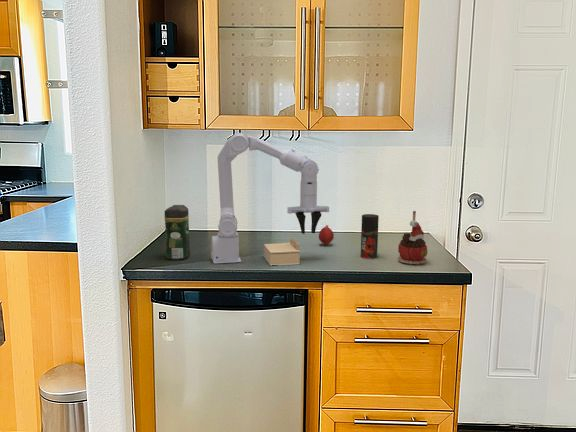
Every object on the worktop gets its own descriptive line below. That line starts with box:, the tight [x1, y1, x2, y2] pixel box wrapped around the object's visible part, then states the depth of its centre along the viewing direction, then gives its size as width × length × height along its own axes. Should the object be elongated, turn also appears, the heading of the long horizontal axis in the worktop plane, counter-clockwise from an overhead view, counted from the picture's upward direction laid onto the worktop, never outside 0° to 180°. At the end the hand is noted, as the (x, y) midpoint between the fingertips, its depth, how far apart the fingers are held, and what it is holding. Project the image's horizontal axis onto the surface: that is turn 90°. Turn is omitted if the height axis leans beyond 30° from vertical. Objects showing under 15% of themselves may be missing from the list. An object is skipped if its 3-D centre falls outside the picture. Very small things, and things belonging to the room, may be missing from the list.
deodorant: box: [360, 213, 380, 260], centre depth 197 cm, size 6×6×15 cm
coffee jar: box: [164, 204, 191, 261], centre depth 195 cm, size 10×8×19 cm
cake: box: [397, 210, 428, 265], centre depth 190 cm, size 11×9×18 cm
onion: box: [318, 224, 335, 246], centre depth 215 cm, size 6×6×8 cm
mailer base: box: [263, 245, 301, 267], centre depth 192 cm, size 10×12×4 cm
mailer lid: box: [263, 237, 301, 254], centre depth 192 cm, size 10×12×2 cm
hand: (308, 233), depth 193 cm, fingers open, 3 cm apart
